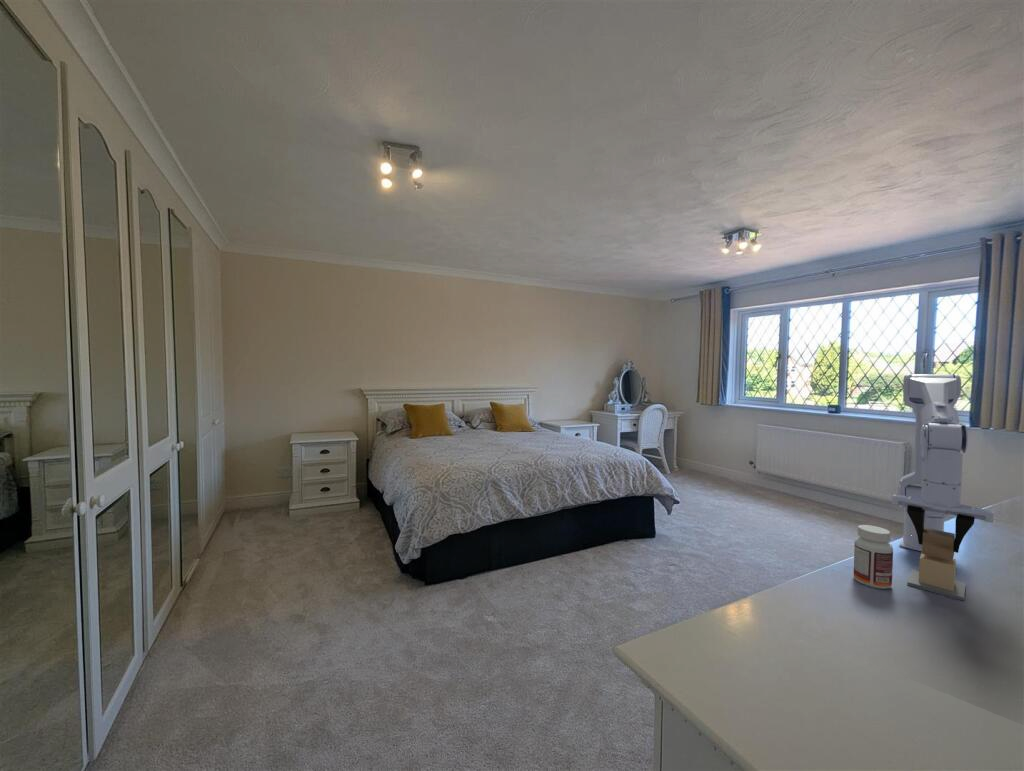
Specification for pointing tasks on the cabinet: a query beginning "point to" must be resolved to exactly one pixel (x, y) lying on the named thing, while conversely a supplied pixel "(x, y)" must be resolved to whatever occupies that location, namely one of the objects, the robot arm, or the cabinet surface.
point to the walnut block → (938, 543)
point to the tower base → (938, 590)
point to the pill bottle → (873, 557)
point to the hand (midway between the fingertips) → (938, 547)
